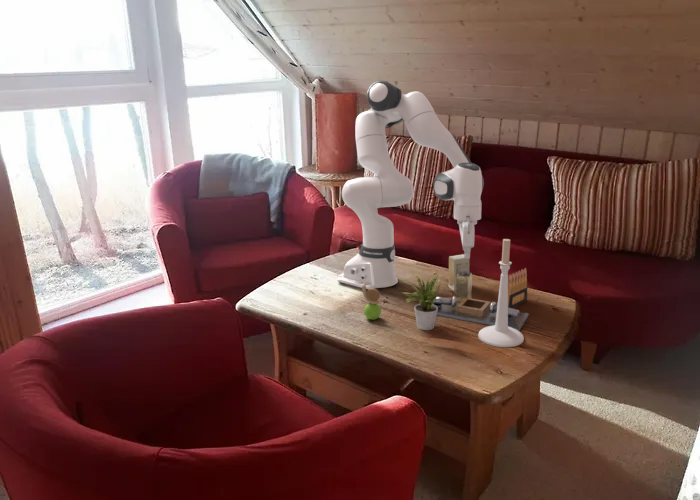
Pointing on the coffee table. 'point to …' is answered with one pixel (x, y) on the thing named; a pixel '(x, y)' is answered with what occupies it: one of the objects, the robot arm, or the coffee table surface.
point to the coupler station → (478, 313)
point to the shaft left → (445, 301)
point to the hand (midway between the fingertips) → (466, 254)
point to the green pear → (371, 303)
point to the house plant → (425, 303)
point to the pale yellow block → (463, 285)
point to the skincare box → (457, 268)
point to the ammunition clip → (517, 288)
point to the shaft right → (511, 312)
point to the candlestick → (502, 311)
